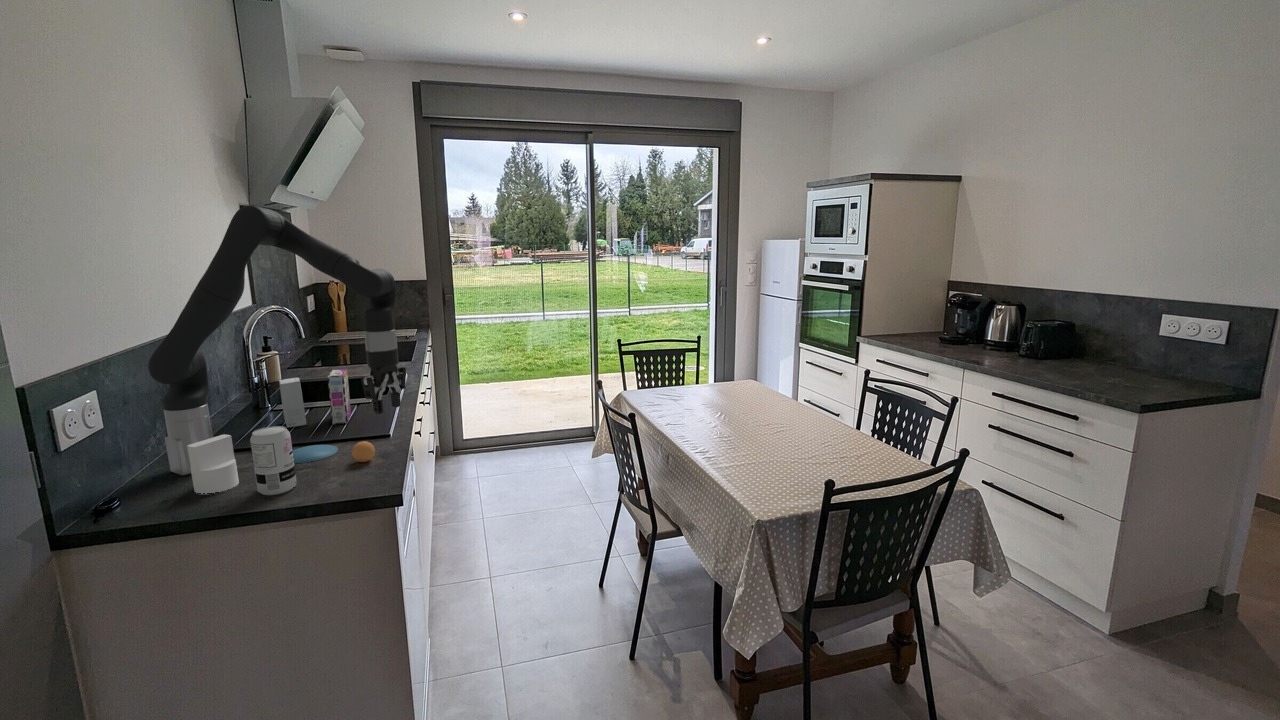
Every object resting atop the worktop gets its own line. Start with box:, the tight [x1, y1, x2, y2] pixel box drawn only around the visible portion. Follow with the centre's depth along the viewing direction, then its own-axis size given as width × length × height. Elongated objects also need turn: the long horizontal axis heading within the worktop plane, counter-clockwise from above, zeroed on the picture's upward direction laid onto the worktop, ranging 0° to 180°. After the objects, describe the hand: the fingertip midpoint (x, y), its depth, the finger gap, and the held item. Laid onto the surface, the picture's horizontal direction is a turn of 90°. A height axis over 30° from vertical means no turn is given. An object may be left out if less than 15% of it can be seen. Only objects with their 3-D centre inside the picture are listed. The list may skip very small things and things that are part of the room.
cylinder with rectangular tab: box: [187, 434, 240, 495], centre depth 144 cm, size 9×9×12 cm
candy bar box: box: [327, 368, 352, 425], centre depth 197 cm, size 11×5×16 cm, turn 21°
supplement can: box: [249, 425, 298, 496], centre depth 142 cm, size 8×8×15 cm
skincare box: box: [278, 377, 308, 428], centre depth 193 cm, size 8×6×15 cm
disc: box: [292, 444, 339, 464], centre depth 167 cm, size 14×14×1 cm
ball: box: [351, 440, 376, 463], centre depth 160 cm, size 6×6×6 cm
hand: (387, 409), depth 155 cm, fingers open, 5 cm apart
